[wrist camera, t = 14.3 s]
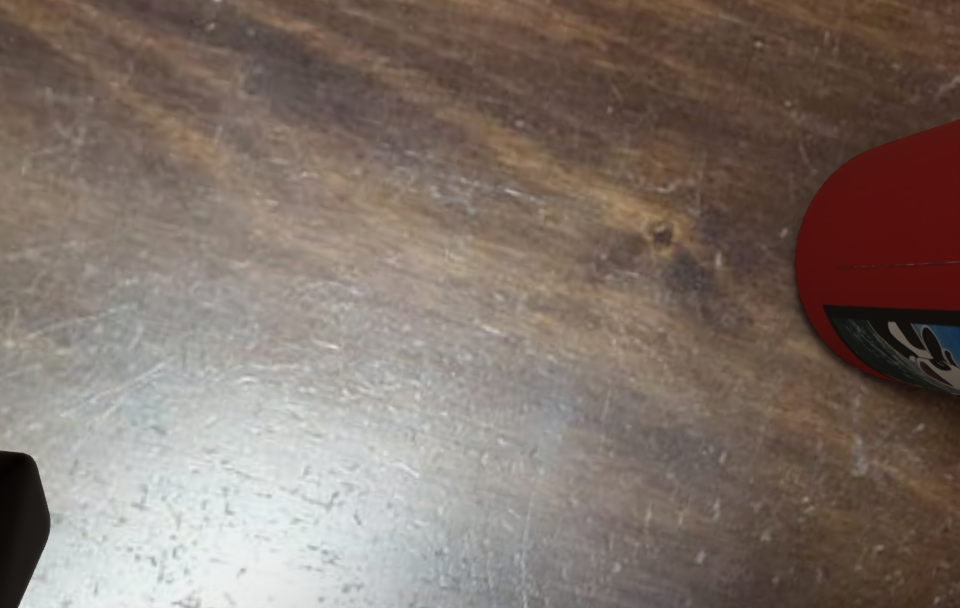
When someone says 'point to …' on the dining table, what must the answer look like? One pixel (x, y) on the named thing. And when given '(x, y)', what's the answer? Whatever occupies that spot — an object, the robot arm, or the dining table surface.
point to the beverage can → (889, 260)
